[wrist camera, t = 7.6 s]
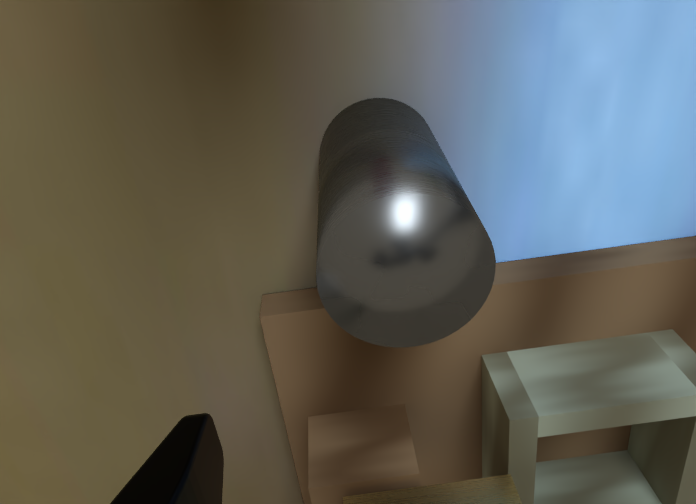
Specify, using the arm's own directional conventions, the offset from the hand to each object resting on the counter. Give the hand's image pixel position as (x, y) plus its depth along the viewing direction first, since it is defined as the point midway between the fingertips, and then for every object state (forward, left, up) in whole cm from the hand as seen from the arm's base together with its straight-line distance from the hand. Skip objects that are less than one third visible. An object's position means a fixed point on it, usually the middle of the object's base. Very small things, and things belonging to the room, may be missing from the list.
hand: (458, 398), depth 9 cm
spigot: (0, 0, -12) cm, 12 cm away
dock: (-5, +12, -12) cm, 18 cm away
